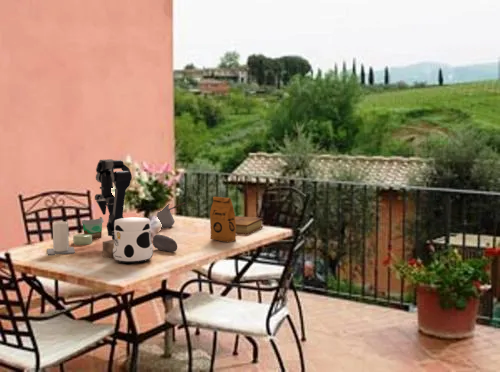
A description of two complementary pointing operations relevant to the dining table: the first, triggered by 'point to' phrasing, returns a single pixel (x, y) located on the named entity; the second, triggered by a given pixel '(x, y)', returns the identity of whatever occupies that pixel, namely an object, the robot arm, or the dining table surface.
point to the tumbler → (60, 236)
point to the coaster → (52, 252)
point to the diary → (247, 224)
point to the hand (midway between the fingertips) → (108, 215)
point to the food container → (93, 227)
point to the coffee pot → (167, 216)
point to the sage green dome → (82, 239)
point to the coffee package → (222, 220)
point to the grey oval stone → (164, 243)
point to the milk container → (132, 240)
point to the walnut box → (108, 249)
